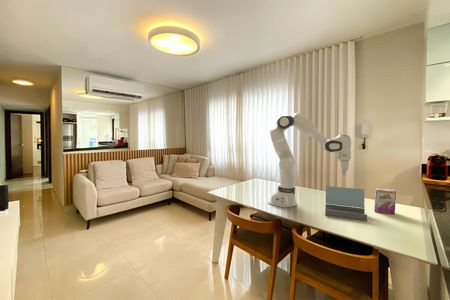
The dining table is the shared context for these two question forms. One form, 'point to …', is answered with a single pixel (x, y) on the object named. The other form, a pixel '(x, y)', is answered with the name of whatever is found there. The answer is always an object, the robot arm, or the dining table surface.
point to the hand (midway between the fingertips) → (343, 174)
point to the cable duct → (346, 212)
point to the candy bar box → (385, 201)
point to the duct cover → (345, 196)
